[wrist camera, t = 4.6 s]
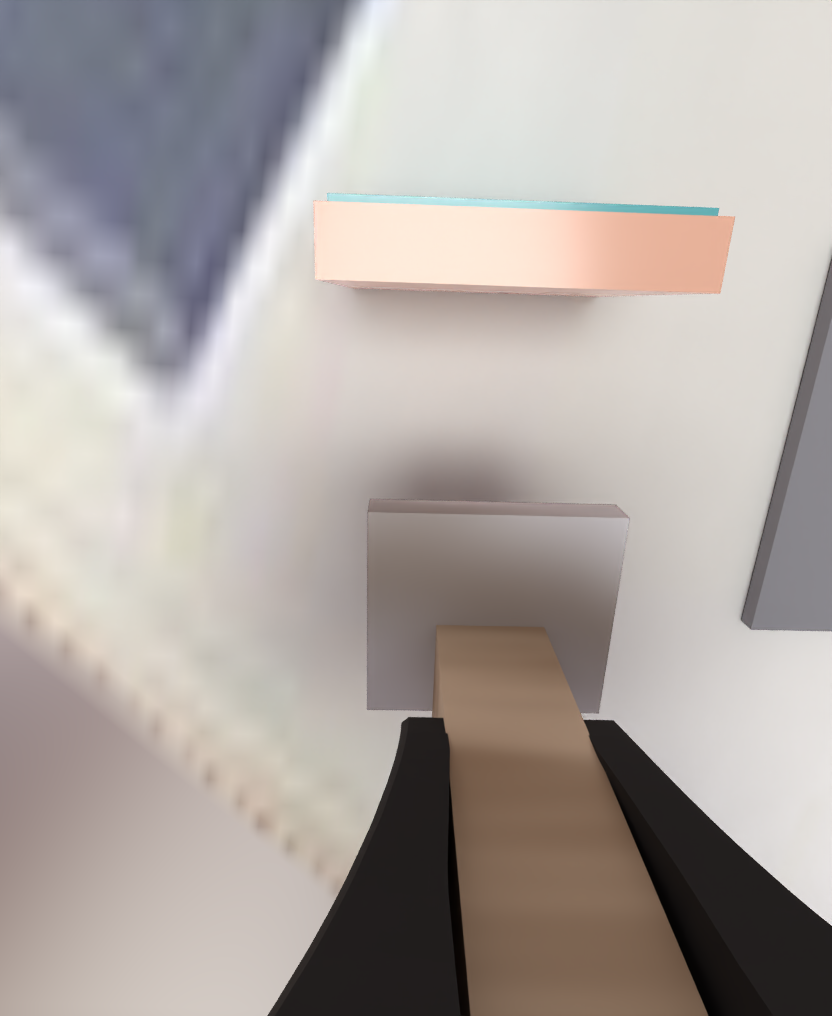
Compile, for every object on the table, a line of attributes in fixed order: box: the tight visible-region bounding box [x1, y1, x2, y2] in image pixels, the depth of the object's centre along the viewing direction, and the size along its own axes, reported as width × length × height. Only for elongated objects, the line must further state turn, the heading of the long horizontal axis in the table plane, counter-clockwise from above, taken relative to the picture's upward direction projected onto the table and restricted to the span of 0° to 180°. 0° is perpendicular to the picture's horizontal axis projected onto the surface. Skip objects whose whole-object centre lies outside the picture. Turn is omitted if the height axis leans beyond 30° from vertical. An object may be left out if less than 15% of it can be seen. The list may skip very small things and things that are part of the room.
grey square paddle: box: [367, 499, 708, 1016], centre depth 9 cm, size 5×5×8 cm
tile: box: [313, 193, 735, 297], centre depth 13 cm, size 1×7×7 cm, turn 88°
